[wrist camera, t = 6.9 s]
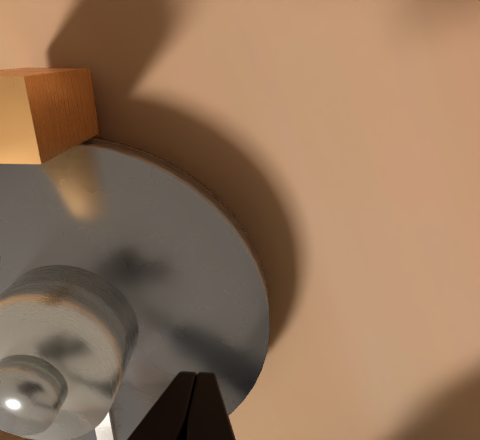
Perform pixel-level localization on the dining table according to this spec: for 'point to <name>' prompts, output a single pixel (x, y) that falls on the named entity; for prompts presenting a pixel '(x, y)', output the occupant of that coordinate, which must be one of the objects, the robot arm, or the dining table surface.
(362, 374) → the dining table surface
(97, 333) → the cover
